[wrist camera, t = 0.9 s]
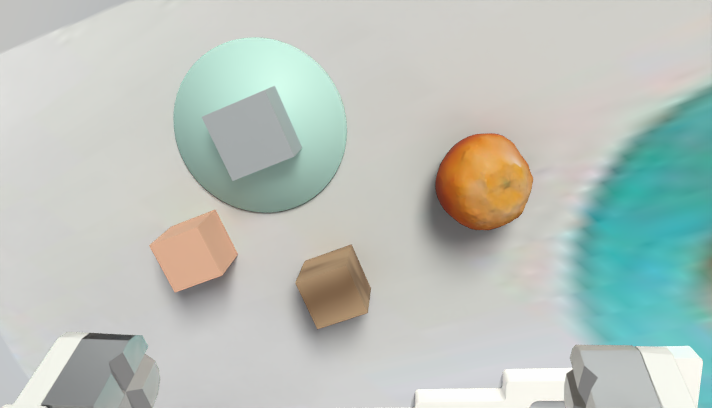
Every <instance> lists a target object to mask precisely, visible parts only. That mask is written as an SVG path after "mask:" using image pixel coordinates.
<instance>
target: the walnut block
mask: <svg viewBox="0 0 712 408" xmlns="http://www.w3.org/2000/svg"><path fill="white" fill-rule="evenodd" d="M296 285H297V287H298V290H299V292H300V294H301V296H302V298H303V300H304V302H305V304H306V306H307V308H308V310H309V313H310V315H311V317H312V319H313V321H314V323H315V325H316V327H317V329H320V328H323V327H326V326H329V325H332V324H335V323H338V322H342V321H345V320H348V319H351V318H354V317H357V316H360V315H363V314H366V313H368V307H369V299H370V291H371V288H370V285H369V283H368V281H367V279H366V276H365V274H364V272H363V269H362V267H361V265H360V263H359V260H358V258H357V256H356V254H355V251H354V249H353V247H352V244H351V245H349V246H346V247H343V248H340V249H337V250H335V251H332V252H329V253H326V254H323V255H321V256H318V257H315V258H312V259H309V260H307V261H305V262H304V264H303V266H302V269H301V271H300V273H299V276H298V278H297V280H296Z"/></svg>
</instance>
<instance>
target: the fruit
mask: <svg viewBox="0 0 712 408" xmlns="http://www.w3.org/2000/svg"><path fill="white" fill-rule="evenodd" d="M532 183H533V177H532V175H531V172H530V169H529V166H528V164H527V162H526V161H525V160H524V158H523V157H522V156H521V154H520V153H519V151H518V150H517V148H516V146H515V145H514V144H513V143H512V142H511V141H510V140H508V139H507V138H505V137H504V136H502V135H498V134H492V133H491V134H476V135H472V136H469V137H467V138H465V139H463V140H461V141H460V142H458V143H457V144H455V145H454V146H453V147H452V148H451V149H450V150H449V152H448V153H447V154H446V156H445V157H444V159H443V161H442V162H441V164H440V167H439V170H438V173H437V176H436V186H435V189H436V194H437V197H438V199H439V201H440V204H441V205H442V207H443V209H444V210H445V211H446V212H447V213H448V214H449V215H450V216H451V217H453V218H454V219H455V220H456V221H458V222H459V223H460V224H462V225H464V226H466V227H468V228H471V229H474V230H491V229H494V228H498V227H501V226H503V225H505V224H507V223H510V222H511V221H513V220H514V219H516V218H518V217H519V216H520V215H521V214H522V212H523V210H524V207H525V205H526V203H527V201H528V198H529V195H530V192H531V189H532Z"/></svg>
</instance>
